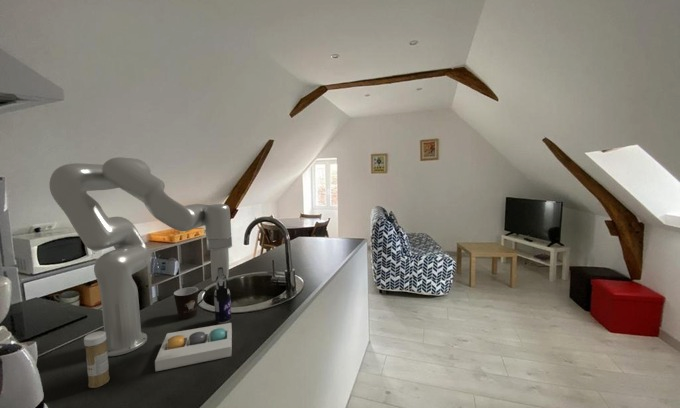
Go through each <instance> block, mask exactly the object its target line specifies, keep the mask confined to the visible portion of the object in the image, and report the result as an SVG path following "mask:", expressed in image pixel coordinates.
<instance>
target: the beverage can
mask: <svg viewBox="0 0 680 408" xmlns="http://www.w3.org/2000/svg"><path fill="white" fill-rule="evenodd" d="M227 292H228V300H225V301H219V302H217V297H216V289H215V290H214V294H213V301H214V302H213V303H214V305H213V306H214V318H215V319H214V320H215V322H216V323H218V324H219V325H221V324H226V323H229V322H230V320H231V319H232V302H231V292H230V289H229V288H228V289H227Z"/></svg>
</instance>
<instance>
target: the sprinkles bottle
mask: <svg viewBox="0 0 680 408" xmlns="http://www.w3.org/2000/svg"><path fill="white" fill-rule="evenodd" d="M106 339H107V338H106V332H104V330H99V331H94V332H90V333H89V334H87V335H85V336H84V338H83V345H84V347H85V354H86V357H85V360H86V369H87V372H86V373H87V377H88V384H87V385H88V388H90V389H97V388H100V387H101V386H104V385H106V384H107V383H109V381H110V379H111V377H110V372H109V356H108V354H107V346H106Z"/></svg>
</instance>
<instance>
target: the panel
mask: <svg viewBox="0 0 680 408" xmlns="http://www.w3.org/2000/svg"><path fill="white" fill-rule="evenodd" d="M218 328H223V329H225V339H223V340H218V341H212V342H211V337H210V332H211V331H212V330H214V329H218ZM232 328H233V327H232V322H227V323H223V324H216V325H210V326H204V327H198V328H192V329H186V330H185V329H184V330H181V331H180V330H179V331H174V332H167V333H166V335H165V337H164V339H163V341H162V344H161V347H160V349H159V351H158V353H157V356H156V358H155V360H154V369H155V372H159V371H161V372H162V371H164V370H170V369H175V368H180V367H185V366H191V365H195V364H199V363H203V362H204V363H205V362H209V361H215V360H219V359H224V358H229V357H232V350H233V349H232V346H233V345H232V344H233V343H232V342H233V341H232V340H233V337H232V335H233V329H232ZM196 332H204V333H205V343H202V344H196V345H191V346H190V338H189V337H190V335H191V334H193V333H196ZM177 335H182V336H184V347H180V348H175V349H169V350H168V339H170V338H171V337H173V336H177Z"/></svg>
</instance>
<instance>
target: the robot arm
mask: <svg viewBox="0 0 680 408" xmlns="http://www.w3.org/2000/svg"><path fill="white" fill-rule="evenodd" d="M113 189H121V190H122V191H124V192H126V193H127V194H129V195H131V196H133V197H134V198H135V199H137V200H139V201H140V202H142V203H143V204H144V205H145V208H146V209H147V210H148V211H149V213H150V214H151V215H152V216H153V218H155V219H156V220H157V221H159V222H161V223H163V224H164V225H166V226H167V227H169V228H171V229H174V230H176V231H179V232H189V231H192V230H195V229H197V228H201V227H204V228H205V229H204V230H205V238H206V241H205V242H206V243H205V244H206V250H207V251H210V256H209V257H210V275H211V276H210V277H211V282H215V281H216V288H215V290H216V297H217V302H219V301H225V300H228V292H227V289H229V284H228V279H229V271H230V270H229V268H230V261H229V260H230V256H229V249H230V248H232V247H233V241H232V222H231V210H230V206H229V205H228V204H224V203H223V204H222V203H218V204H215V203H214V204H202V203H194V204H187V205H183V204H181V203H179V202H178V201H177V200H174V199H173V198H172V197H170V196H169V195H168V194H167V193H166V192H165V182H164V181H163V180H161V179H160V178H158V177H157V176H155V175H154V174H152V173H151V169H150V167H149V165H148V164H147V163H146V162H145V161H143V160H141V159H139V158H133V157H132V158H131V157H130V158H129V157H123V156H122V157H119V156H118V157H113V158H110V159H108V160H106V161H105V162H104V163H103V164H97V163H96V164H95V163H68V164H63V165H60V166H59V167H57V168H56V169H55V170H54V171H52V174H51V176H50V178H49V191H50V194H51V197H52V198H53V199H54V201H55V203H56V204H57V205H58V206H59V208H60V209H61V211H63V213H64V214H65V215H66V217H67V218H68V220H69V222H70V224H71V226H72V227H73V228H74V230H75V231H76V232H75V233H77V235H78V236H79V238H80V240H81V241H82V243H83V245H84V246H85V247H87V249H89V250H91V251H102V250H106V249H109V248H112V247H113V248H114V249H113V250H110V251H108V252H106V253H104V254H102V255H101V256H99V258H97V259H96V260H95V262H94V266H93V272H94V276H95V278H96V281H97V284H98V288H99V293H100V302H101V310H102V313H101V314H102V323H103V331H104V332H106V338H107V339H106V346H107V354H108V357H115V356H116V357H117V356H121V355H122V356H123V355H124V354H128V353H131V352H134V351H135V350H137V349H139V348H141V347H142V346H144V345H145V343H147V341H148V335H147V333H144V332H142V327H141V315H140V303H139V291H138V286H137V283H136V282H135V280H134V279H133V275H134V274H135V273H137V272H140V271H142V270H144V269H145V268H146V267H147V266H148V265H149V264H150V262H151V253H150V250H149V248H148V246H147V245H146V242H145V241H144V239H143V237H142V236H141V234H140V232H139V231H138V229H137V228H136V226H135V224H134V223H133V222H131V220H129V219H127V218H126V217H123V216H111V217H108V216H107V215H106V213H105V212H104V210H103V208H102V206H101V205H100V203H99V202H98V201H97V200H95V199H94V198H93V196H91V195H89V194H88V193H87V192H90V191H108V190H113Z"/></svg>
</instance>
